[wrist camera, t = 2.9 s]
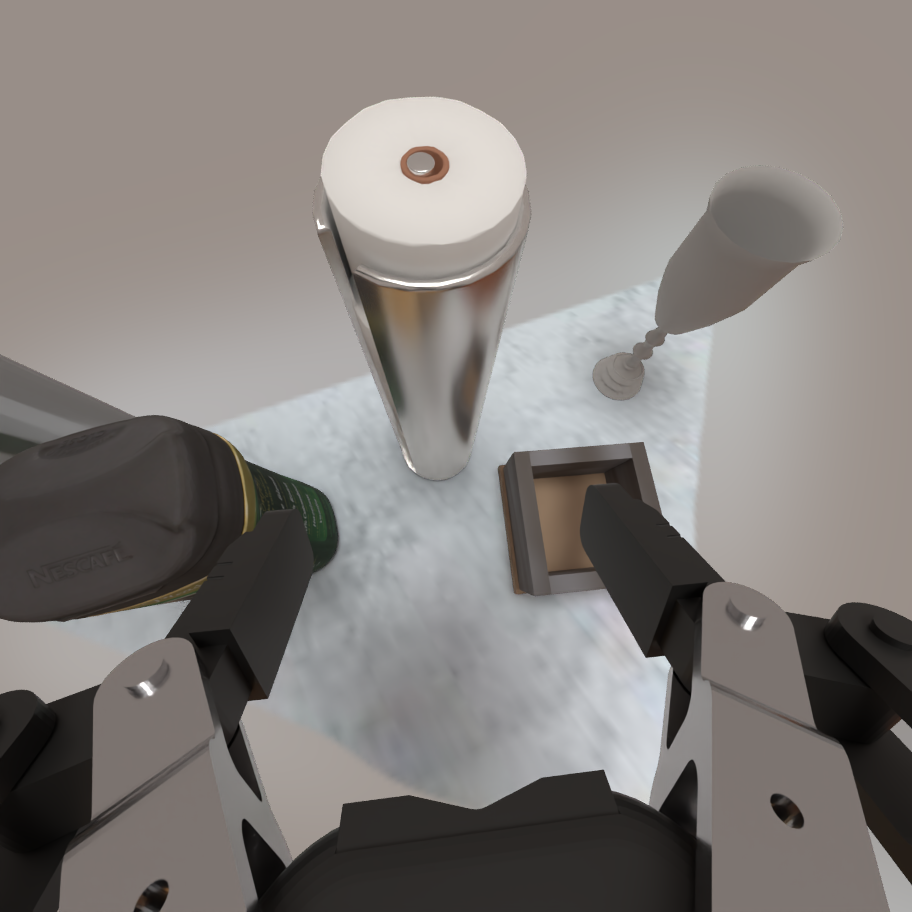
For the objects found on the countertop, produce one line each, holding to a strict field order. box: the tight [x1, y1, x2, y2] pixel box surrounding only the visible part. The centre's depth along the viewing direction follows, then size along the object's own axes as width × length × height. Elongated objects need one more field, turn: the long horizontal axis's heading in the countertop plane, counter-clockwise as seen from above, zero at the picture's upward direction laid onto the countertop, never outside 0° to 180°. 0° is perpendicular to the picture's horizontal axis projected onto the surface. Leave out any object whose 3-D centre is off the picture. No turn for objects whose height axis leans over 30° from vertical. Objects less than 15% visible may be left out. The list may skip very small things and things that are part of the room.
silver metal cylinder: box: [312, 97, 531, 480], centre depth 21 cm, size 6×6×25 cm
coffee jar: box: [0, 415, 338, 622], centre depth 22 cm, size 10×8×19 cm
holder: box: [498, 442, 662, 596], centre depth 29 cm, size 11×11×6 cm
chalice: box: [593, 165, 843, 400], centre depth 27 cm, size 7×7×18 cm
